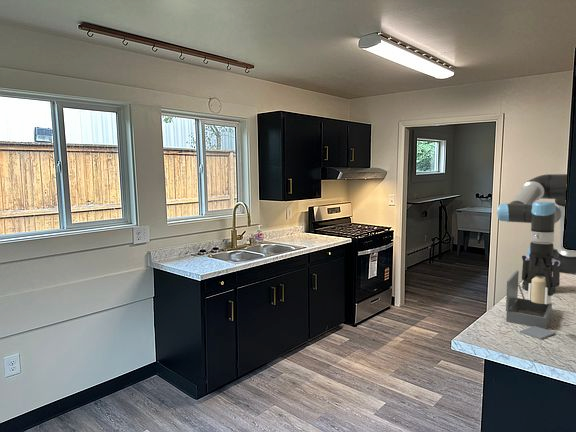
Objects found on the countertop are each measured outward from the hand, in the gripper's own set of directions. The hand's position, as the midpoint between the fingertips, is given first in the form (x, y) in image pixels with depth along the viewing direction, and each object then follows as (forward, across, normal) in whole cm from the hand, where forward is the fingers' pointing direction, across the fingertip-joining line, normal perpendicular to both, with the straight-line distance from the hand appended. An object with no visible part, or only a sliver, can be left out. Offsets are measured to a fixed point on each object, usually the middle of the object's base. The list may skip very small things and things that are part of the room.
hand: (539, 301), depth 156 cm
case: (+13, -12, +14) cm, 22 cm away
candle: (+1, 0, 0) cm, 1 cm away
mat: (+13, 0, 0) cm, 13 cm away
